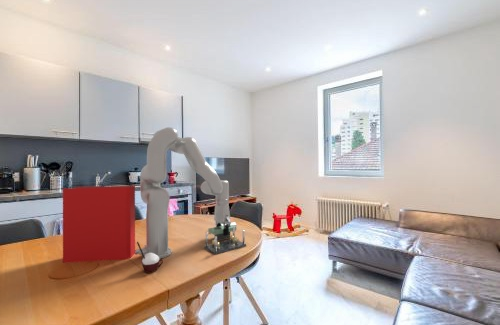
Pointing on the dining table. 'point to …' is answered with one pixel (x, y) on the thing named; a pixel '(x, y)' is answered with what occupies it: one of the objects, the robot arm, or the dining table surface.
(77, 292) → the dining table surface
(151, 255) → the cocoa
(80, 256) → the book
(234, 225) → the bracket
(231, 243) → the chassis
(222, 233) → the block
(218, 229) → the board
